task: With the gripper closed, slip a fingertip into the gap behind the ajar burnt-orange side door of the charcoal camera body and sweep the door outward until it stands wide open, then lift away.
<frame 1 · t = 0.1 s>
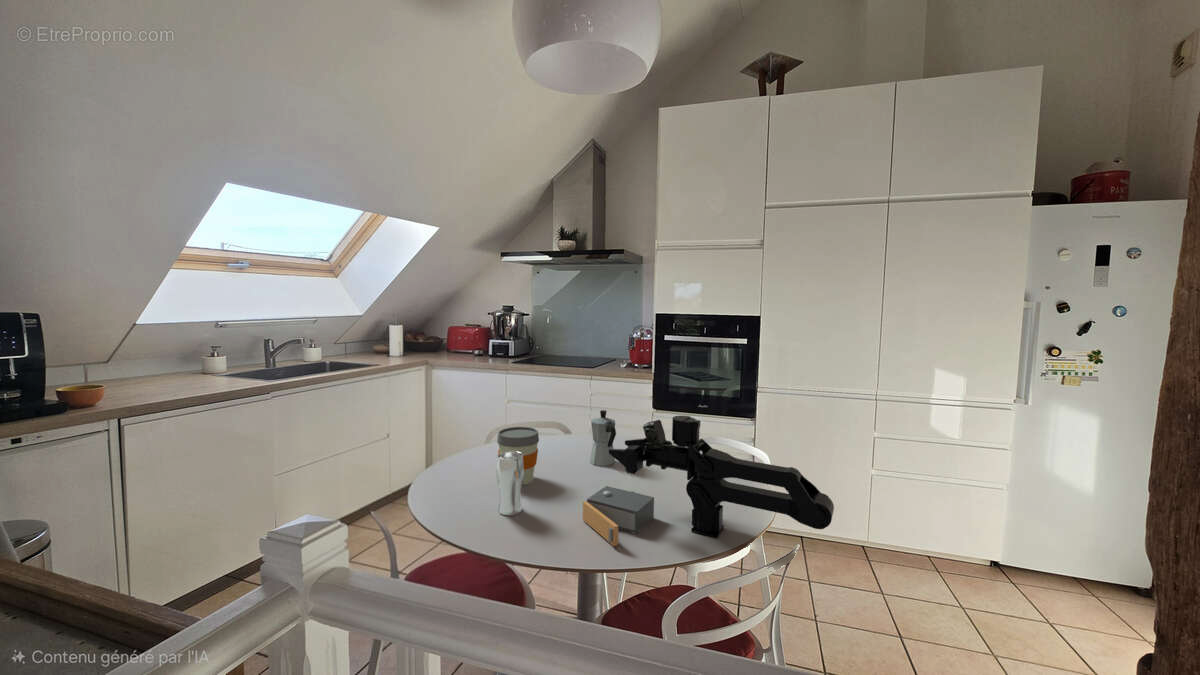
hand: (617, 446, 131), 17 cm above the table, tool horizontal, fingers open, 9 cm apart
coffee maker: (603, 464, 167), on the table
reusable coffee cup: (518, 480, 151), on the table
camera body: (620, 518, 125), on the table
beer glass: (510, 511, 129), on the table
side door: (598, 522, 117), point 3 cm above the table, hinge at 30.0°
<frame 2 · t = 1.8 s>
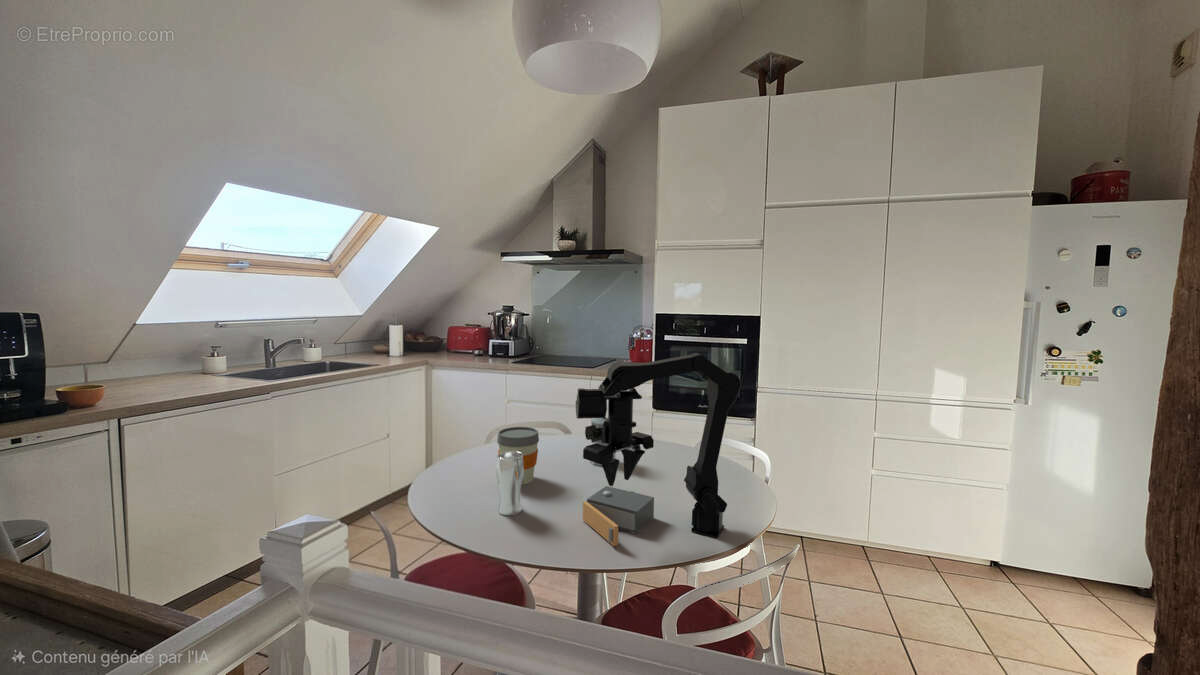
hand: (618, 482, 115), 13 cm above the table, tool pointing down, fingers open, 5 cm apart
nothing on the table moved.
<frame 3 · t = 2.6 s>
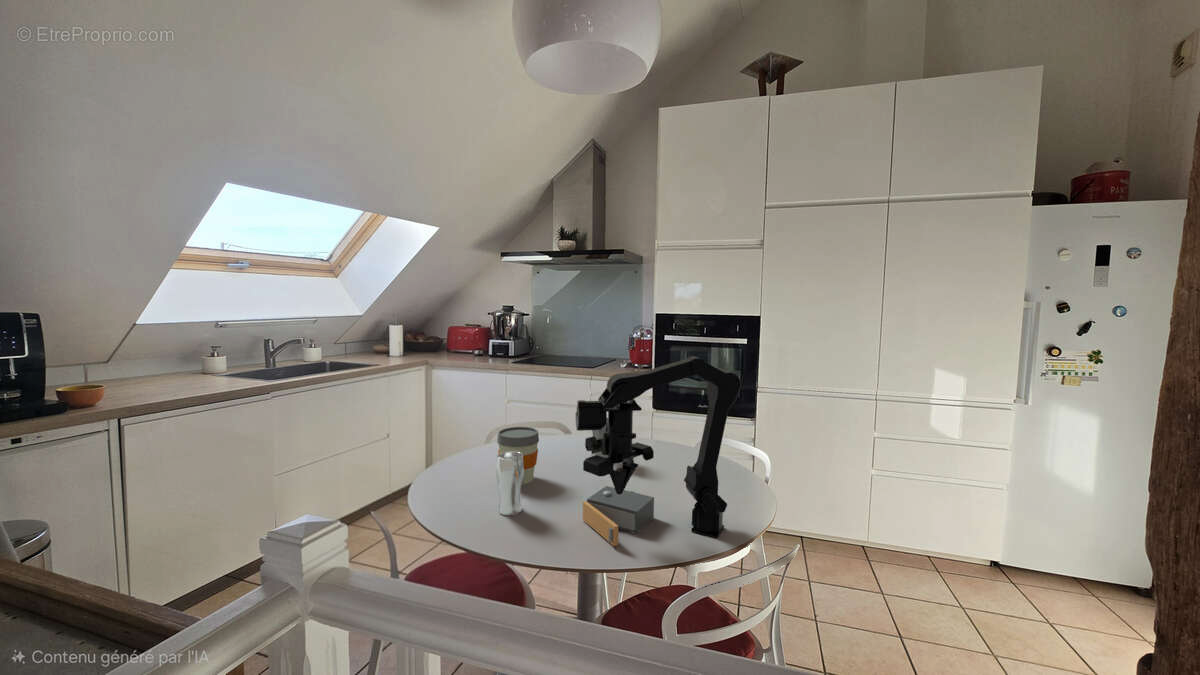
hand: (619, 493, 116), 10 cm above the table, tool pointing down, fingers closed
nothing on the table moved.
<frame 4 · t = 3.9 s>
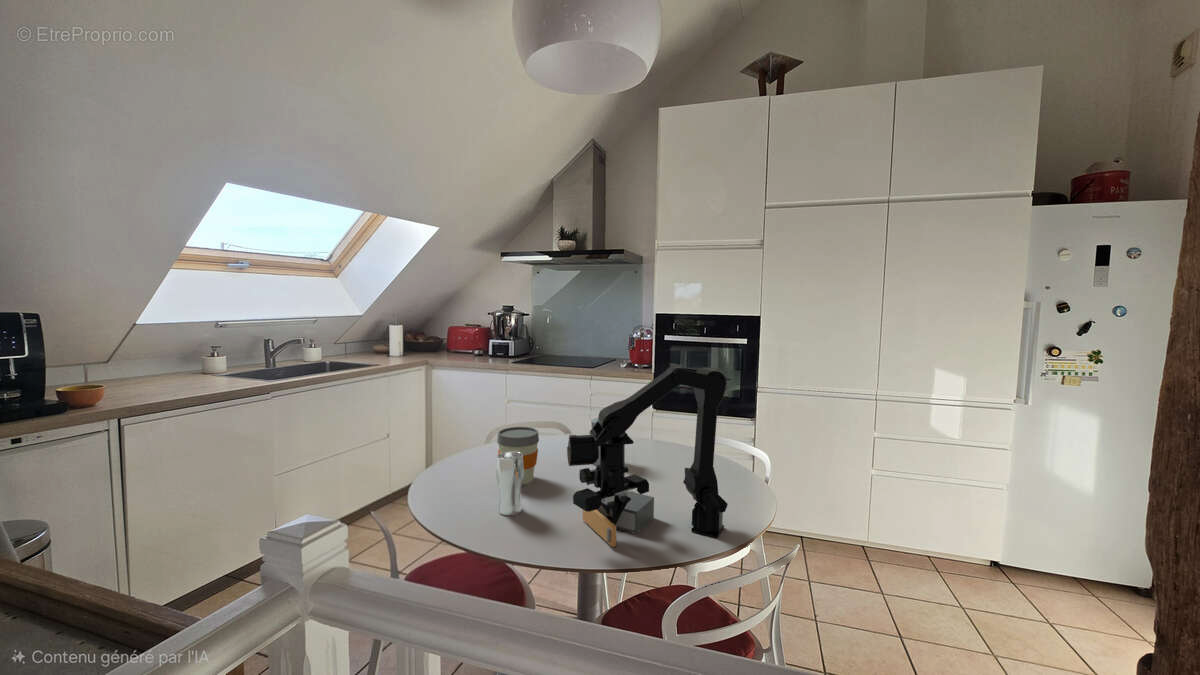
hand: (612, 526, 115), 3 cm above the table, tool pointing down, fingers closed
side door: (597, 523, 117), point 3 cm above the table, hinge at 32.1°, touching gripper
everything else where it was.
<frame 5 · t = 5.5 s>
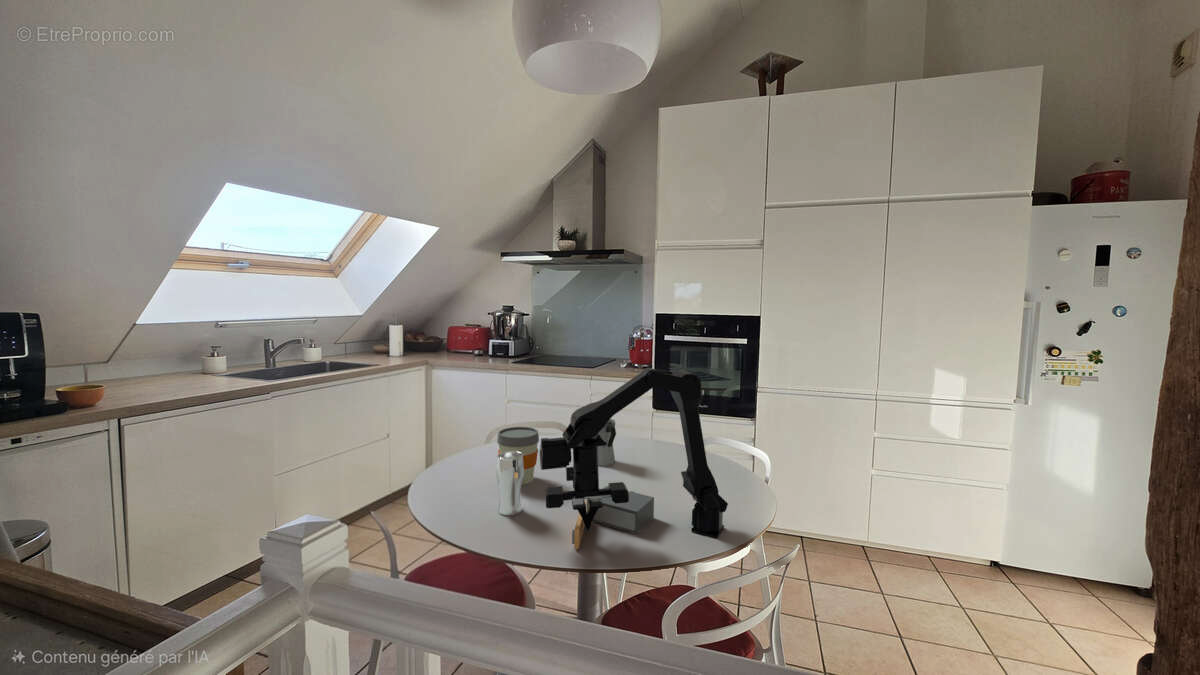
hand: (587, 530, 113), 3 cm above the table, tool pointing down, fingers closed
side door: (579, 523, 117), point 3 cm above the table, hinge at 64.9°, touching gripper
everything else where it was.
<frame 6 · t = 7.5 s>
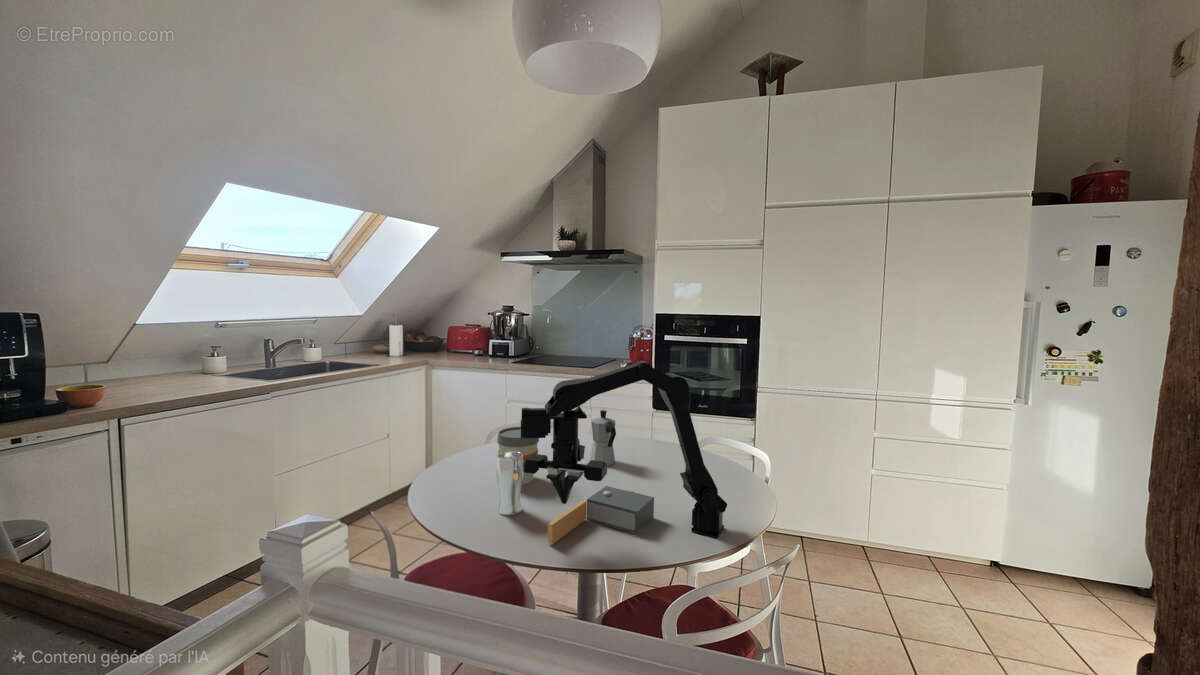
hand: (564, 503, 113), 9 cm above the table, tool pointing down, fingers closed
side door: (567, 520, 118), point 3 cm above the table, hinge at 89.6°
everything else where it was.
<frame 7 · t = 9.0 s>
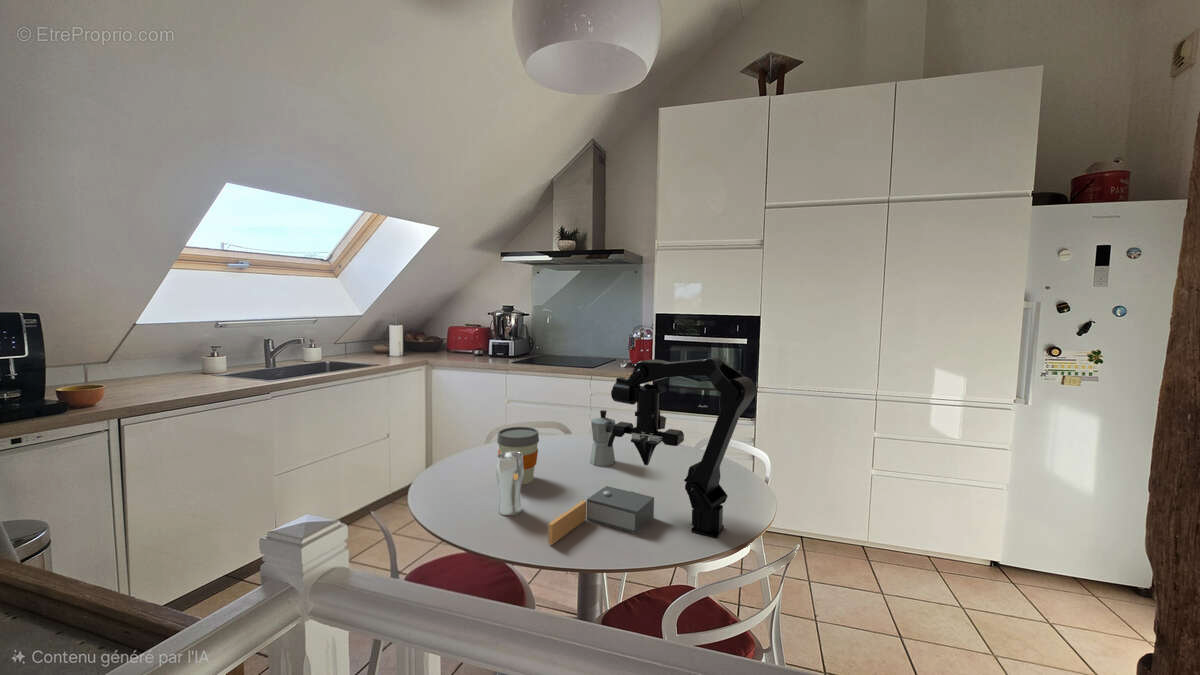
hand: (646, 464, 131), 12 cm above the table, tool pointing down, fingers closed
nothing on the table moved.
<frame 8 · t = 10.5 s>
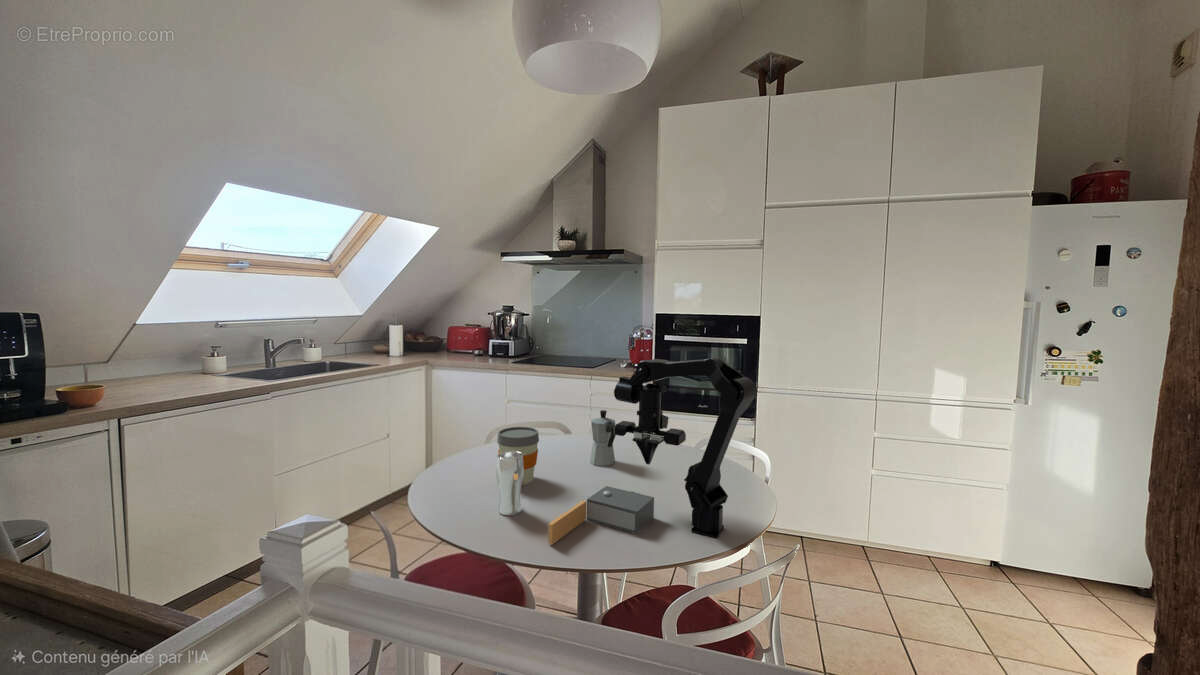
hand: (648, 463, 131), 12 cm above the table, tool pointing down, fingers closed
nothing on the table moved.
at the end: side door at +90° (first picture: +30°) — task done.
